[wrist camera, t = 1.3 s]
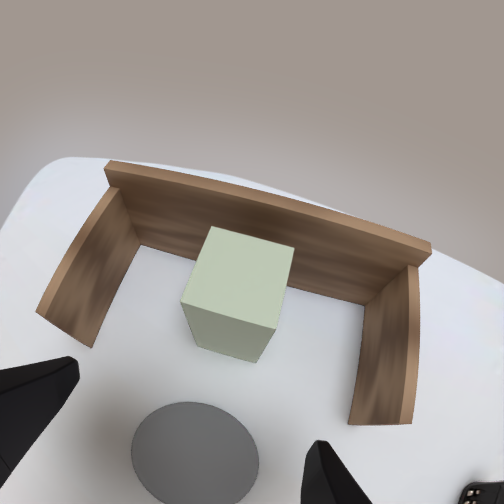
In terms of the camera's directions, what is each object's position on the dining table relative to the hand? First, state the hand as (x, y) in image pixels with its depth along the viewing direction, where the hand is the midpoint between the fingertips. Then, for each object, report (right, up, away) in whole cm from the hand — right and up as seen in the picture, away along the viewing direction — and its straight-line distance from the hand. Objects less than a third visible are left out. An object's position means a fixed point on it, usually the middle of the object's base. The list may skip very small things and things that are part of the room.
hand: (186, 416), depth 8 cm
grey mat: (-2, -11, +9) cm, 14 cm away
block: (+1, -1, +15) cm, 15 cm away
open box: (+1, -1, +15) cm, 15 cm away
